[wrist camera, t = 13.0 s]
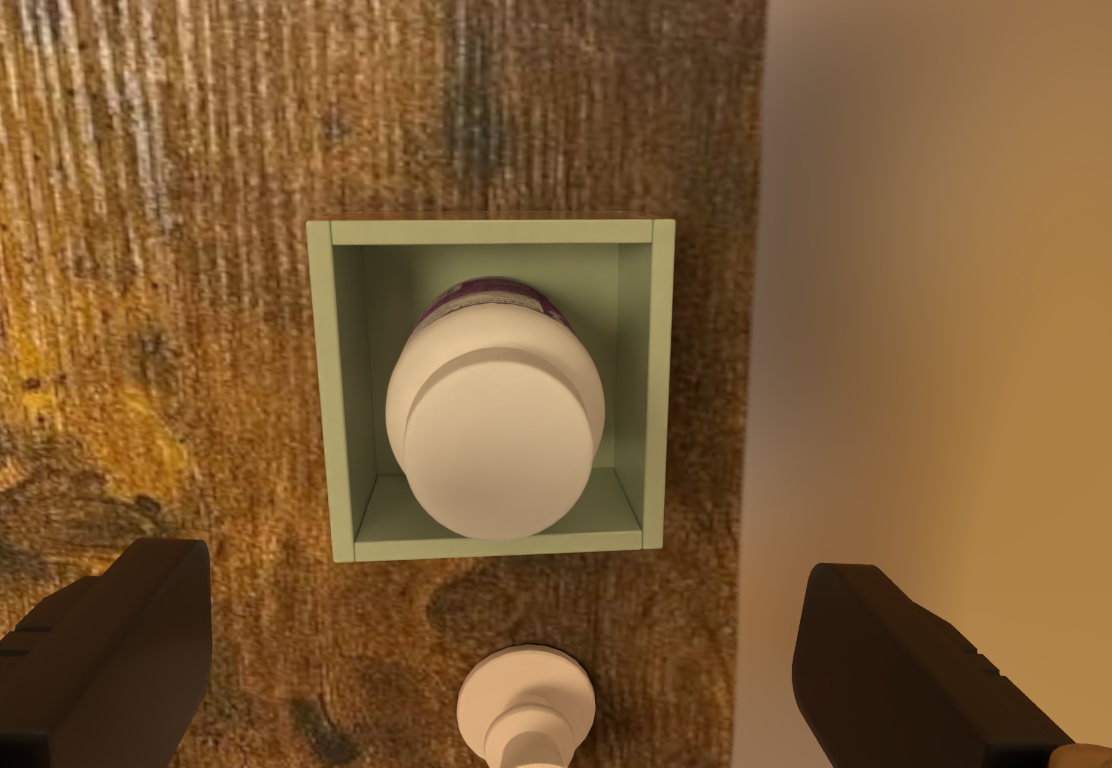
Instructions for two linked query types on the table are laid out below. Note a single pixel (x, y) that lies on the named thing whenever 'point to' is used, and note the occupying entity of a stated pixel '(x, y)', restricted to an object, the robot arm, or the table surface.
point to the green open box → (394, 309)
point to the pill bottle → (495, 410)
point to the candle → (526, 708)
